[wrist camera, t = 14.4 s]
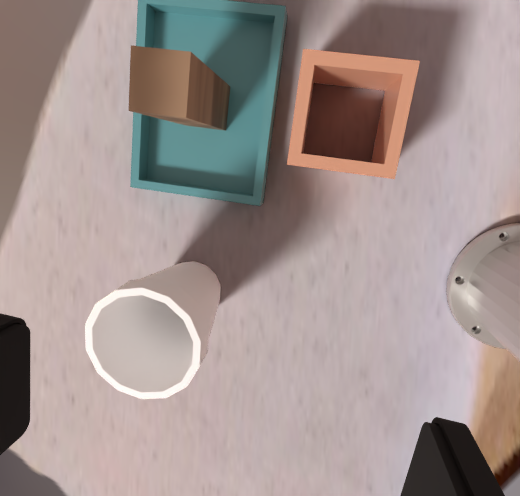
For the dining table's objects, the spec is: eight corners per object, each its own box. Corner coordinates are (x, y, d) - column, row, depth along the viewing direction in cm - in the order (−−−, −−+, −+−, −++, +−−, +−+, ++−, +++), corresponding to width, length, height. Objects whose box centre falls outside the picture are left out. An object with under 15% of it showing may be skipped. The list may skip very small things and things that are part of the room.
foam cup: (176, 230, 40) (114, 264, 27) (250, 276, 40) (222, 329, 28) (139, 300, 43) (67, 360, 30) (208, 342, 43) (166, 419, 30)
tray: (287, 16, 34) (285, 5, 31) (263, 202, 38) (260, 205, 36) (150, 3, 35) (138, -8, 33) (141, 185, 39) (130, 187, 37)
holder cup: (398, 80, 34) (419, 60, 27) (379, 175, 36) (394, 179, 29) (304, 70, 35) (303, 48, 28) (291, 163, 37) (286, 164, 30)
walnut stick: (230, 86, 35) (190, 51, 24) (226, 130, 36) (186, 117, 25) (189, 81, 36) (131, 45, 24) (186, 125, 37) (128, 110, 25)
